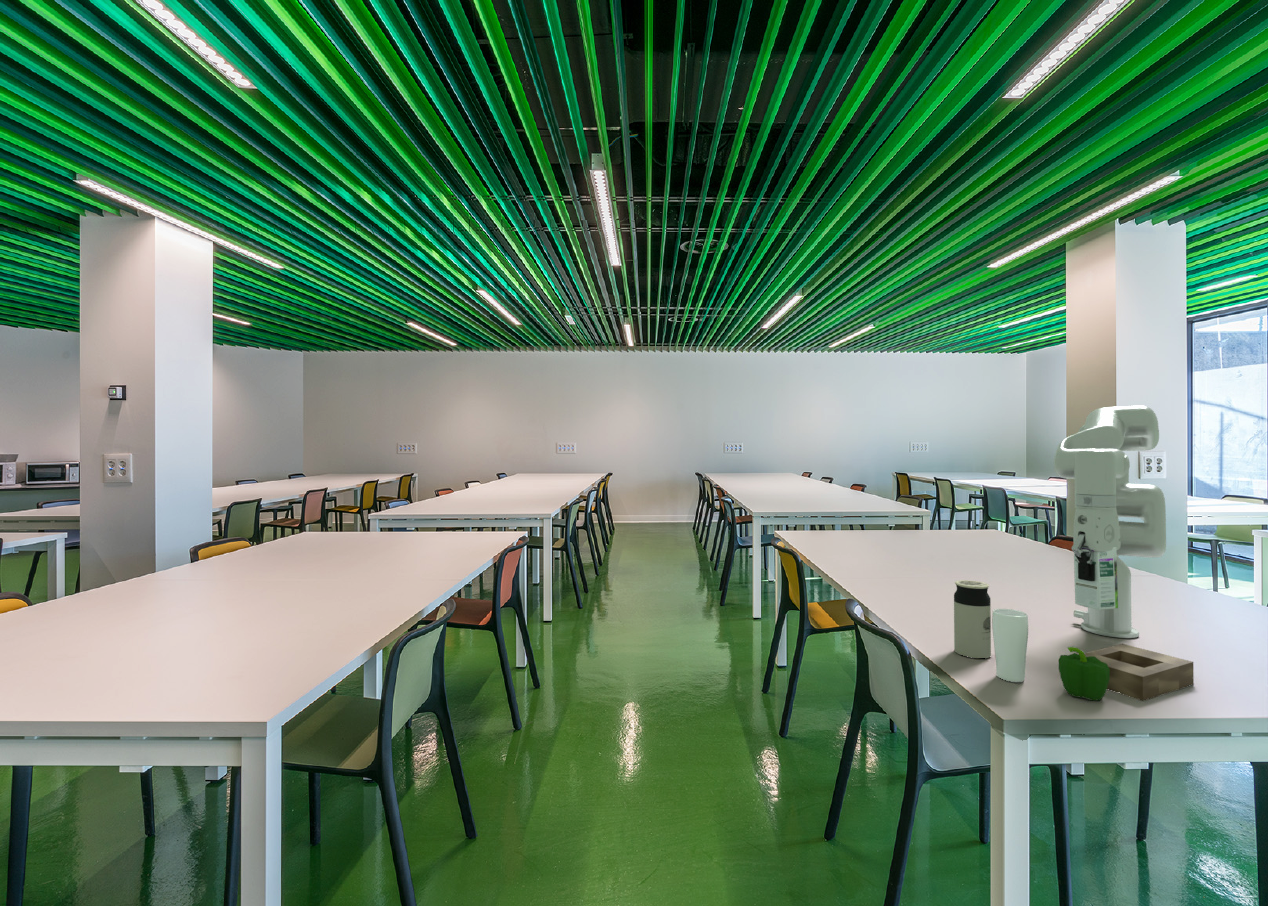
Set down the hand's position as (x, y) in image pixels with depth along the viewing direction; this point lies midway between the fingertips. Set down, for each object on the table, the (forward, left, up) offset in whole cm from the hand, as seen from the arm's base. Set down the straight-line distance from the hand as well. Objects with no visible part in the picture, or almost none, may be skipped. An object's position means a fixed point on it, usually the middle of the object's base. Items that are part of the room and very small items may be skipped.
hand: (1095, 578), depth 131 cm
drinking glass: (-5, -23, -22) cm, 32 cm away
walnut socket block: (+7, 0, -22) cm, 23 cm away
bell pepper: (+7, -18, -22) cm, 29 cm away
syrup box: (0, 0, -7) cm, 7 cm away
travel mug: (-19, -16, -22) cm, 33 cm away
